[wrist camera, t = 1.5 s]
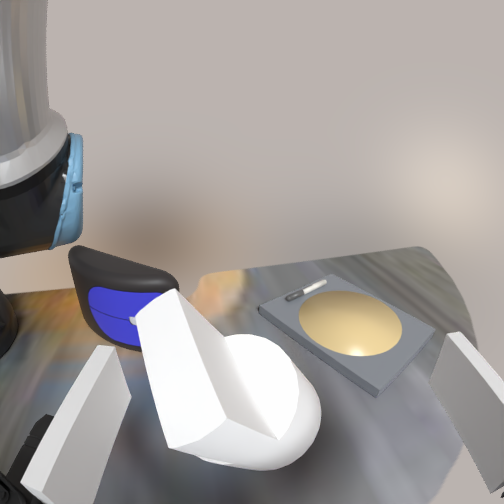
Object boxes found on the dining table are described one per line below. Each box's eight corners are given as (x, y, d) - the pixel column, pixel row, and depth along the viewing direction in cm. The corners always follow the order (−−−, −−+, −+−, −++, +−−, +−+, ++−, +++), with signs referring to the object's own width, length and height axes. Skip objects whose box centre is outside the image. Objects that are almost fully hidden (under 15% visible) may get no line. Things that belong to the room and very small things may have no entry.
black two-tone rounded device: (66, 321, 34) (47, 254, 30) (90, 304, 38) (76, 240, 34) (165, 373, 28) (151, 294, 24) (189, 346, 32) (181, 270, 28)
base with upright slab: (344, 431, 18) (296, 384, 11) (239, 489, 18) (122, 473, 10) (286, 346, 25) (217, 255, 18) (200, 400, 25) (100, 337, 17)
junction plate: (258, 313, 38) (259, 299, 38) (330, 280, 46) (332, 268, 46) (376, 397, 26) (382, 384, 25) (432, 336, 34) (437, 323, 33)
